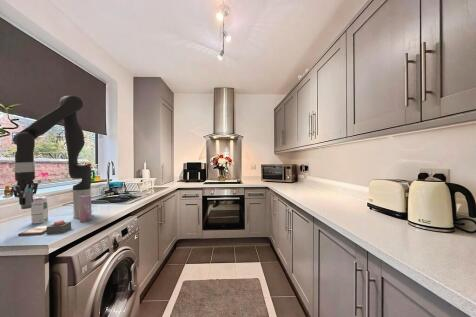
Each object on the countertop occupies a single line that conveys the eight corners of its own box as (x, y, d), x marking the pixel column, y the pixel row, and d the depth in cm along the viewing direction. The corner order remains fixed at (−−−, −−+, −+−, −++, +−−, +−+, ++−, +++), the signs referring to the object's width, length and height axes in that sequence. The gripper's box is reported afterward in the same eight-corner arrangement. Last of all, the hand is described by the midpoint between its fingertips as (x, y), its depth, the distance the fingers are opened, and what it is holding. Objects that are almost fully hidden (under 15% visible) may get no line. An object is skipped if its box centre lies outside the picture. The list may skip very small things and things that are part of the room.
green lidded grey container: (25, 207, 117) (24, 187, 116) (34, 207, 117) (33, 187, 117) (18, 209, 112) (17, 189, 112) (27, 208, 113) (26, 188, 113)
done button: (57, 223, 113) (57, 220, 113) (66, 223, 113) (66, 220, 113) (52, 226, 109) (51, 222, 109) (60, 225, 109) (60, 222, 109)
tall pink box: (89, 218, 133) (89, 194, 133) (93, 220, 130) (92, 195, 130) (77, 221, 129) (77, 195, 129) (81, 222, 125) (80, 196, 125)
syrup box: (43, 222, 128) (43, 197, 128) (31, 223, 126) (30, 198, 126) (48, 219, 133) (47, 196, 133) (35, 221, 131) (35, 197, 131)
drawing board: (37, 228, 117) (37, 226, 117) (58, 226, 118) (58, 224, 118) (18, 236, 105) (18, 233, 105) (41, 234, 106) (41, 232, 106)
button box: (56, 229, 114) (56, 222, 114) (71, 228, 115) (71, 221, 115) (46, 233, 107) (46, 226, 107) (62, 232, 108) (62, 225, 108)
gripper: (28, 170, 121) (29, 201, 121) (4, 172, 107) (5, 207, 107) (43, 170, 122) (44, 200, 122) (21, 171, 108) (22, 206, 108)
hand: (26, 203), depth 115 cm, fingers closed on green lidded grey container, 4 cm apart
